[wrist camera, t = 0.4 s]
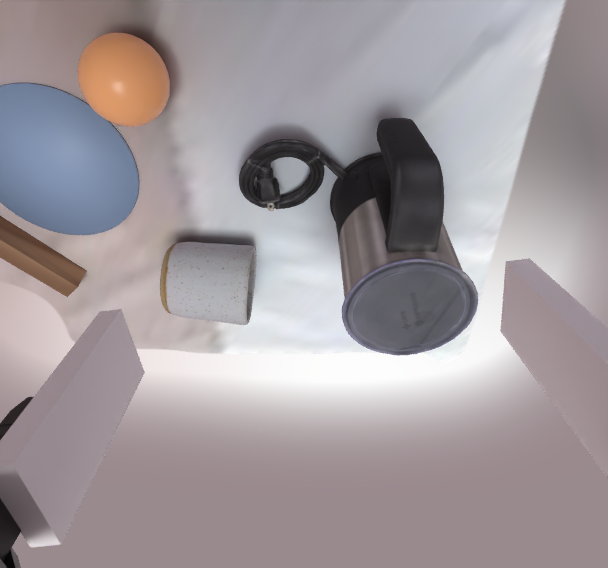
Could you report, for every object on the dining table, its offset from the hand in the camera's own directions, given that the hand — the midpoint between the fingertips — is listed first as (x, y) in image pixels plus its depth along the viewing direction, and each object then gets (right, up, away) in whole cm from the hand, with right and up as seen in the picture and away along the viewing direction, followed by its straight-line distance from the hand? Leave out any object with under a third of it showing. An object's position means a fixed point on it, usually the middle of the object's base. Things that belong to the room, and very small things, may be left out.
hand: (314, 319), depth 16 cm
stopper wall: (-29, +7, +28) cm, 41 cm away
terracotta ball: (-13, +15, +16) cm, 26 cm away
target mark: (-22, +11, +23) cm, 34 cm away
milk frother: (+3, +10, +25) cm, 27 cm away
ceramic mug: (-9, +3, +31) cm, 33 cm away
